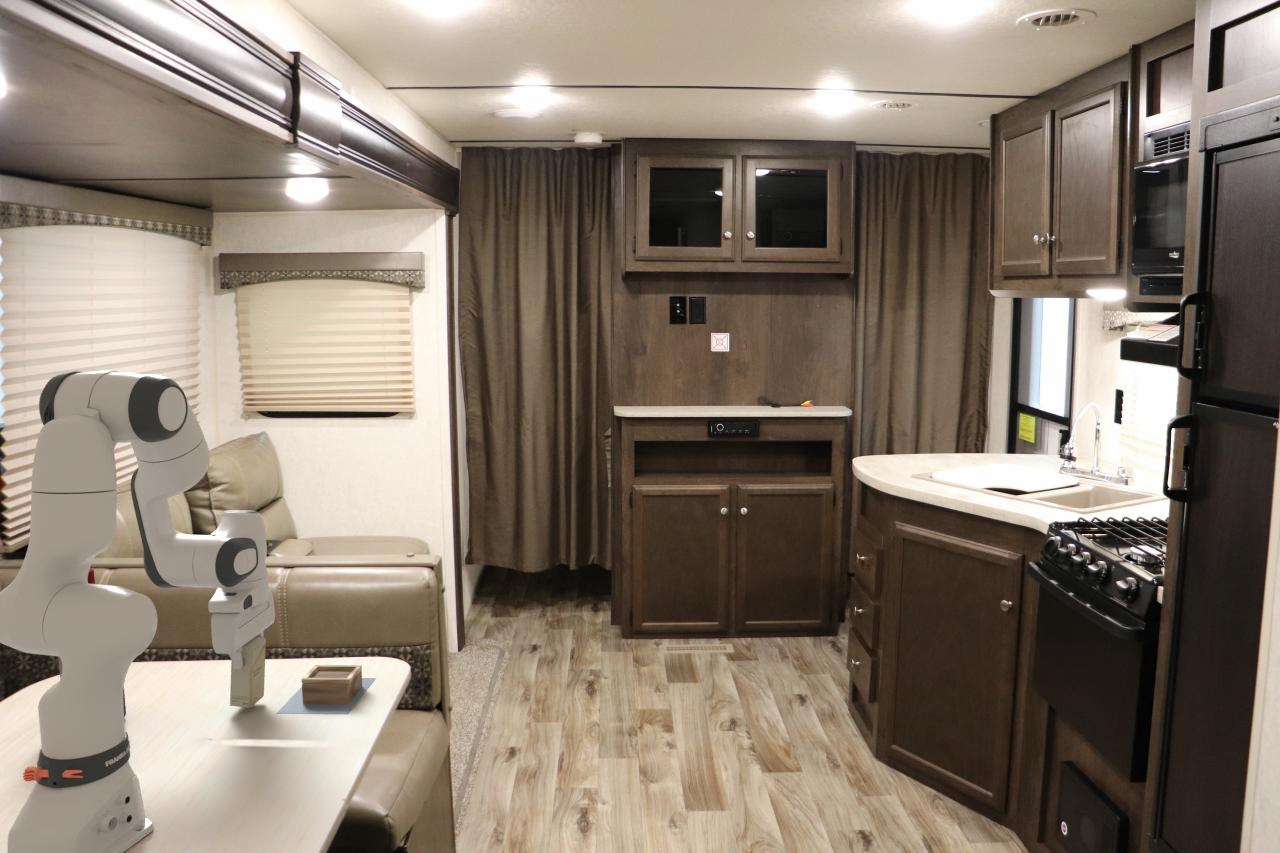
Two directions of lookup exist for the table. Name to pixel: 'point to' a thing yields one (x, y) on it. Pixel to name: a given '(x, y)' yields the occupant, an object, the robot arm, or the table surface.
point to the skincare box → (249, 675)
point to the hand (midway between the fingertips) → (247, 661)
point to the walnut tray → (331, 684)
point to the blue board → (298, 707)
